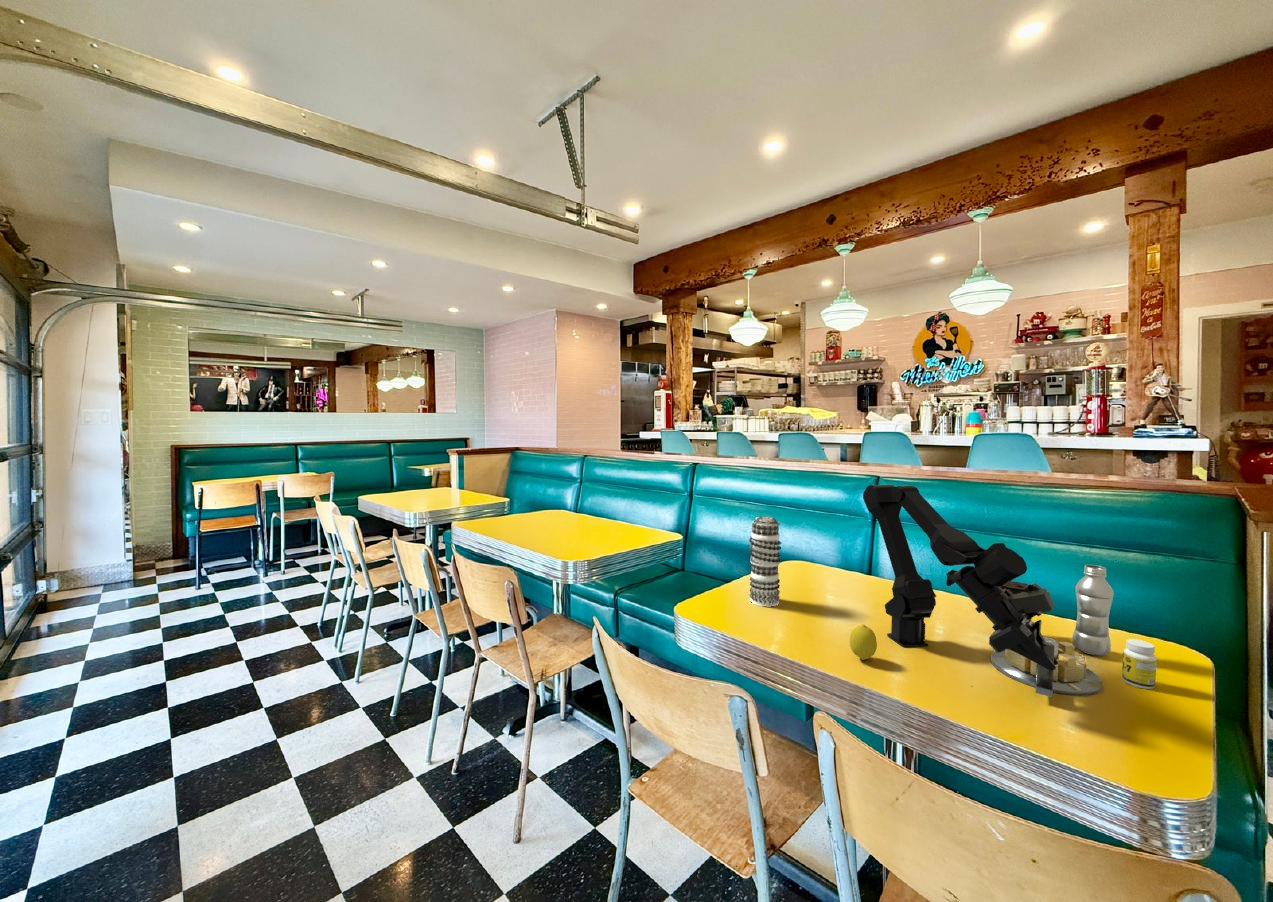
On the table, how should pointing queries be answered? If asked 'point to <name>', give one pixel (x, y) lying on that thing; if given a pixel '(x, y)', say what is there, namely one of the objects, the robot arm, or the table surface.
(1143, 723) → the table surface
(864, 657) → the lemon
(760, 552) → the decorative candle
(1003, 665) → the cap flange
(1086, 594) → the plastic bottle
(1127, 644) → the supplement bottle
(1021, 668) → the tan toy bricks
